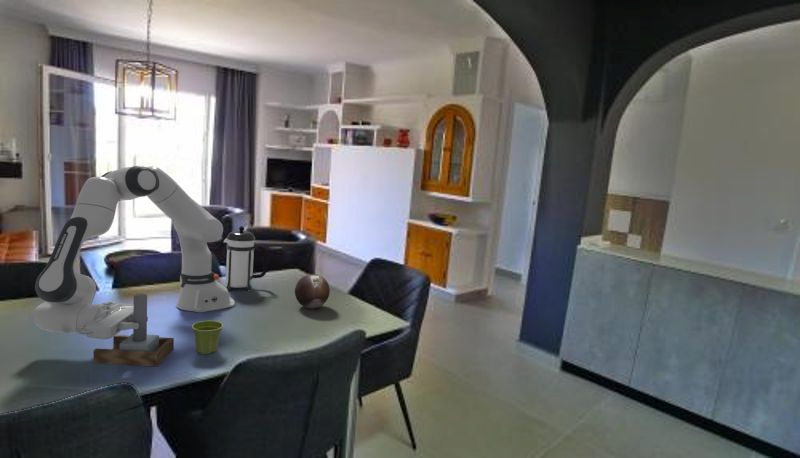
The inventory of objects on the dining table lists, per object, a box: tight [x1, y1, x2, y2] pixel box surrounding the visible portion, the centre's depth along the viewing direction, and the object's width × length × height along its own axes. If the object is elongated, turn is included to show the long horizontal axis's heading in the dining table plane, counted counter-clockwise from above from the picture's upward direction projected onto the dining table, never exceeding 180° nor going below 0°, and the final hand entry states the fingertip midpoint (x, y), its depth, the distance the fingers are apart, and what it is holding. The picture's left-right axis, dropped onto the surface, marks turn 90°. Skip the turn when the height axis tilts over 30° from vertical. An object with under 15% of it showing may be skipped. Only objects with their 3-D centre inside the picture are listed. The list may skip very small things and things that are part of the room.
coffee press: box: [223, 225, 269, 291], centre depth 218 cm, size 17×16×30 cm
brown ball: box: [294, 273, 331, 309], centre depth 200 cm, size 15×15×15 cm
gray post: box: [119, 293, 160, 352], centre depth 140 cm, size 8×8×19 cm
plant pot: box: [191, 320, 224, 355], centre depth 149 cm, size 9×9×9 cm
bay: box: [93, 334, 175, 367], centre depth 141 cm, size 18×12×4 cm, turn 95°
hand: (143, 322), depth 140 cm, fingers closed on gray post, 4 cm apart
